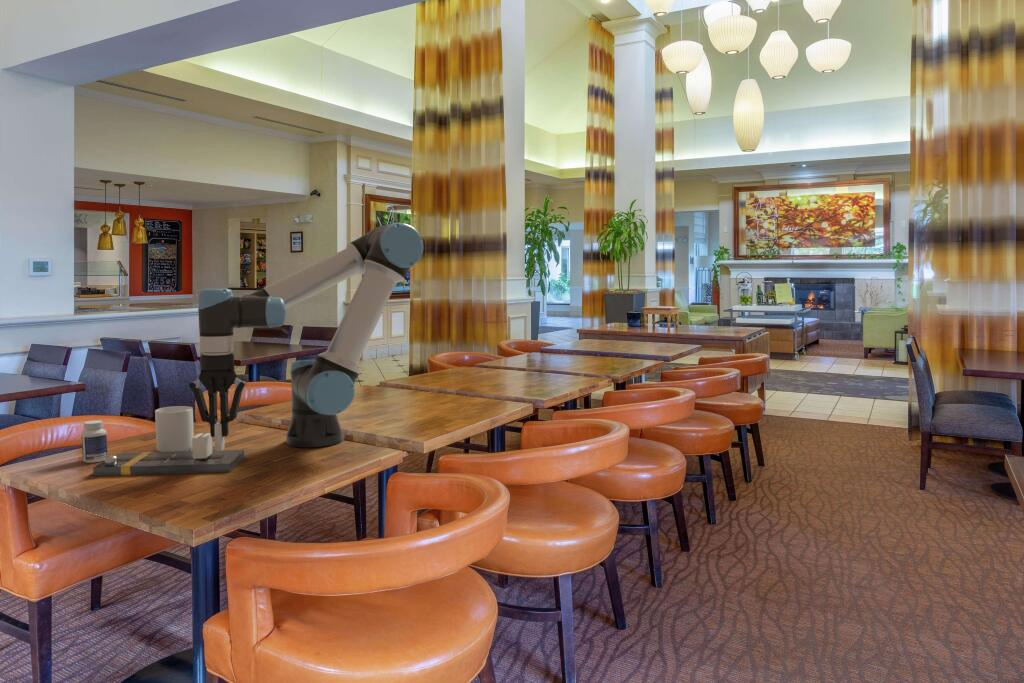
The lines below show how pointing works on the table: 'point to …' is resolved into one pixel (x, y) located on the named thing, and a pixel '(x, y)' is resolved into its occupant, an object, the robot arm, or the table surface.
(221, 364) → the robot arm
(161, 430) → the mug
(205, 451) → the fader tab
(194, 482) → the table surface
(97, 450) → the pill bottle
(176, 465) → the console board
